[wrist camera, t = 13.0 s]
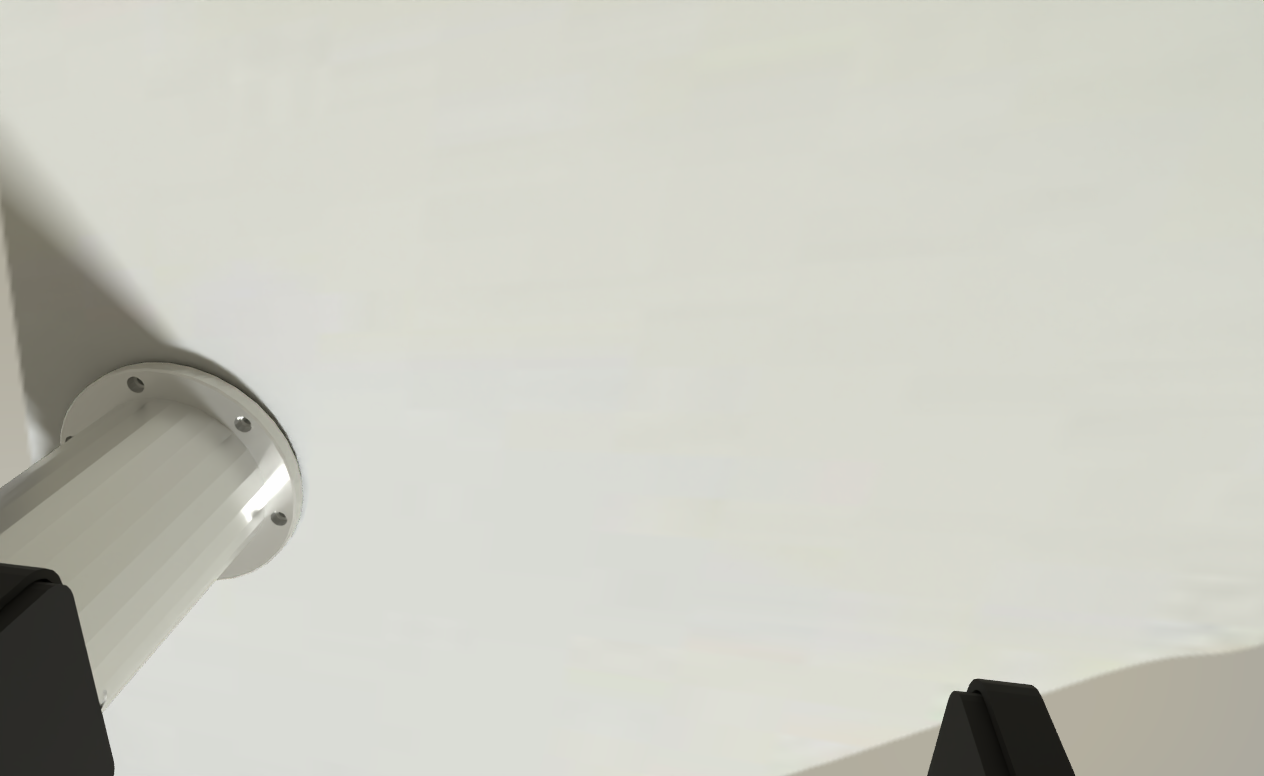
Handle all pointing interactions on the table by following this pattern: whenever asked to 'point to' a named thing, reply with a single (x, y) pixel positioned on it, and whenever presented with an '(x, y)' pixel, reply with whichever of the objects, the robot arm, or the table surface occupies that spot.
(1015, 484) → the table surface
